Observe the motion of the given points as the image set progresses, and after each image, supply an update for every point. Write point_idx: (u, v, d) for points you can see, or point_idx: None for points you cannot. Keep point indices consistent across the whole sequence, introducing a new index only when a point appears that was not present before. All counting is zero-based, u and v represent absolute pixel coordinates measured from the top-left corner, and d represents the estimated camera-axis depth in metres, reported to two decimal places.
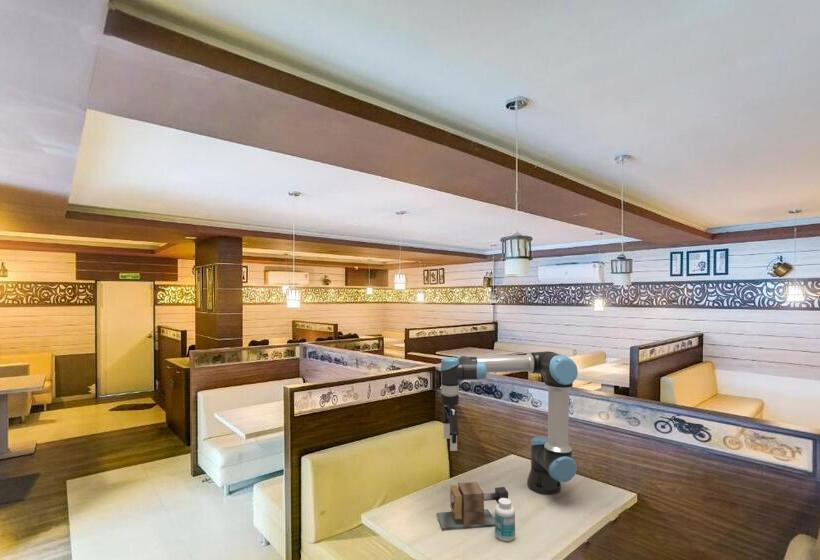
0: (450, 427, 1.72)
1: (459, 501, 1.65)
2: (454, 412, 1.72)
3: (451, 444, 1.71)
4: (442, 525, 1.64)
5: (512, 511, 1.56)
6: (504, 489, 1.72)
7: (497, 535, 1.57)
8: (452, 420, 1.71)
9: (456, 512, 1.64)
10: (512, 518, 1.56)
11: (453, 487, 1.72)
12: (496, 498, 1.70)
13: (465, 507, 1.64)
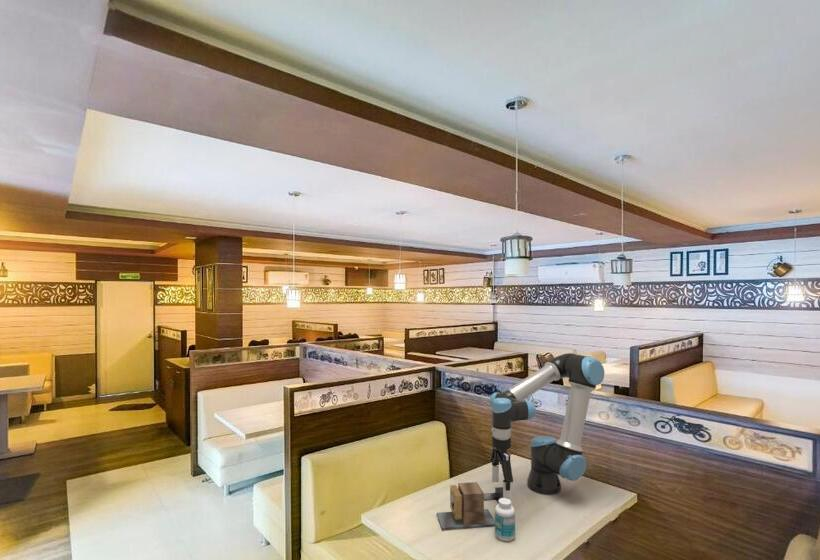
0: (503, 473, 1.65)
1: (459, 501, 1.65)
2: (508, 457, 1.65)
3: (504, 491, 1.64)
4: (442, 525, 1.64)
5: (512, 511, 1.56)
6: None
7: (497, 535, 1.57)
8: (506, 466, 1.64)
9: (456, 512, 1.64)
10: (512, 518, 1.56)
11: (453, 487, 1.72)
12: (496, 498, 1.70)
13: (465, 507, 1.64)
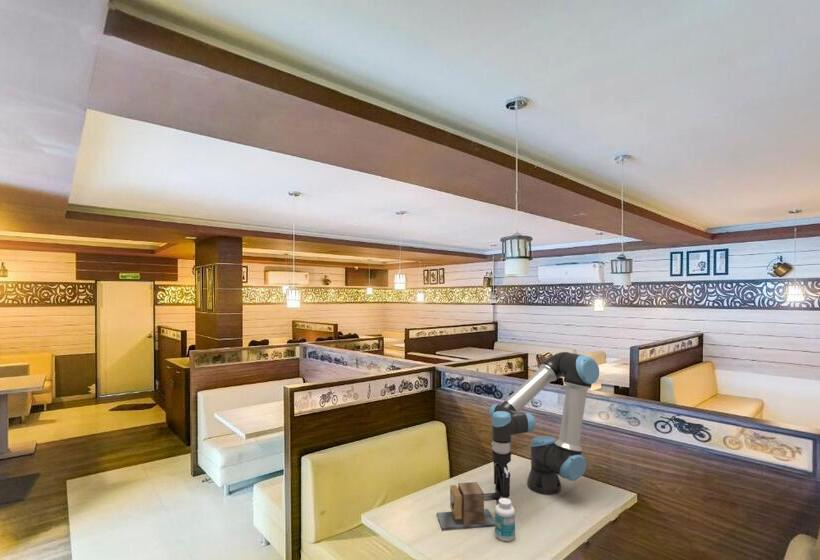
0: (501, 488, 1.68)
1: (459, 501, 1.65)
2: (508, 475, 1.65)
3: None
4: (442, 525, 1.64)
5: (512, 511, 1.56)
6: None
7: (497, 535, 1.57)
8: (505, 483, 1.65)
9: (456, 512, 1.64)
10: (512, 518, 1.56)
11: (453, 487, 1.72)
12: (496, 498, 1.70)
13: (465, 507, 1.64)
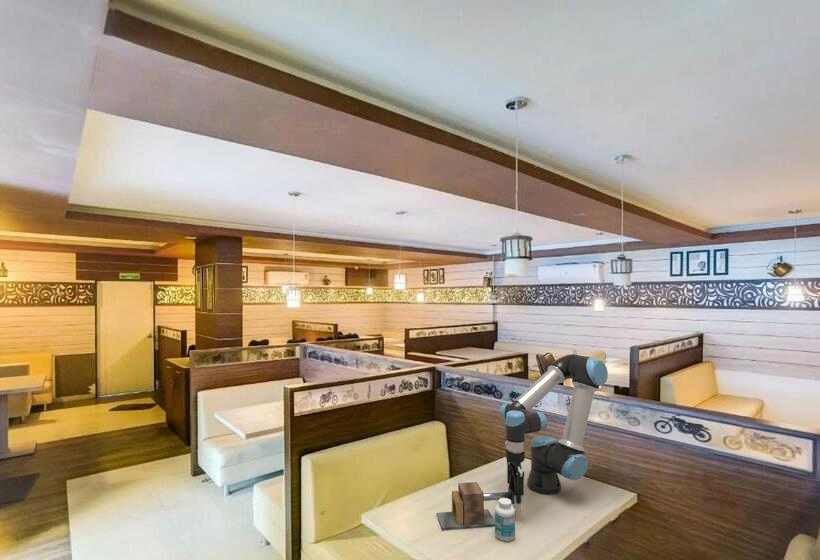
0: (515, 487, 1.69)
1: (461, 507, 1.65)
2: (522, 475, 1.66)
3: (515, 504, 1.69)
4: (442, 525, 1.64)
5: (512, 511, 1.56)
6: None
7: (497, 535, 1.57)
8: (519, 482, 1.66)
9: (458, 518, 1.64)
10: (512, 518, 1.56)
11: (455, 493, 1.72)
12: (509, 497, 1.70)
13: (465, 507, 1.64)
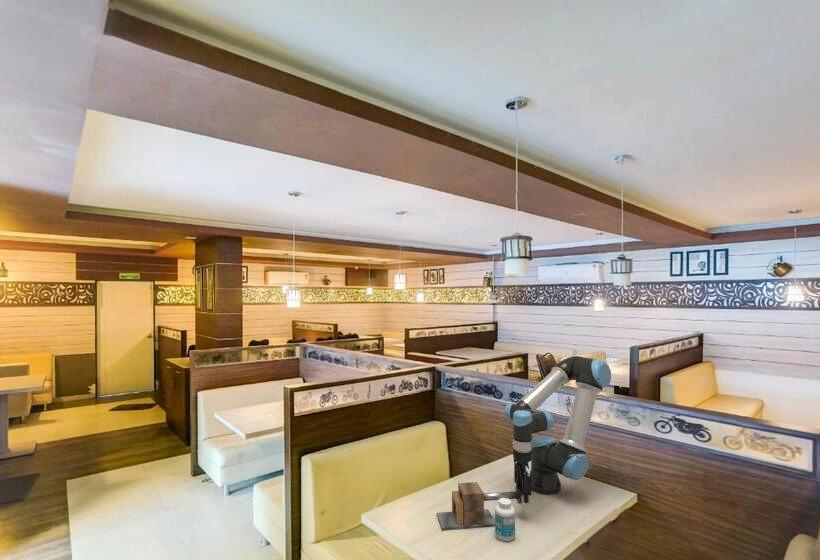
0: (522, 486, 1.69)
1: (461, 507, 1.65)
2: (529, 474, 1.66)
3: (523, 503, 1.70)
4: (442, 525, 1.64)
5: (512, 511, 1.56)
6: None
7: (497, 535, 1.57)
8: (526, 481, 1.67)
9: (458, 518, 1.64)
10: (512, 518, 1.56)
11: (455, 493, 1.72)
12: (517, 497, 1.71)
13: (465, 507, 1.64)
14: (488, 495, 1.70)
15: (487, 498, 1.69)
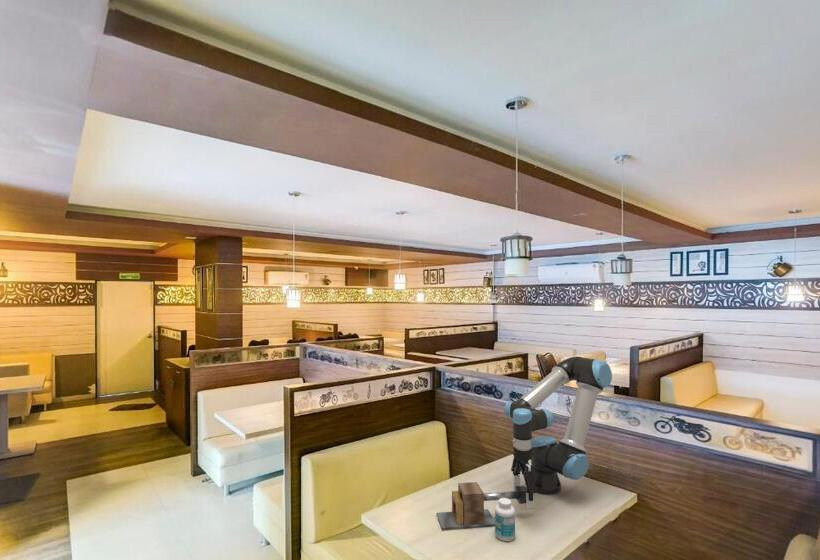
0: (526, 484, 1.66)
1: (461, 507, 1.65)
2: (530, 468, 1.66)
3: (528, 501, 1.66)
4: (442, 525, 1.64)
5: (512, 511, 1.56)
6: (525, 488, 1.73)
7: (497, 535, 1.57)
8: (529, 477, 1.65)
9: (458, 518, 1.64)
10: (512, 518, 1.56)
11: (455, 493, 1.72)
12: (517, 497, 1.71)
13: (465, 507, 1.64)
14: (488, 495, 1.70)
15: (487, 498, 1.69)
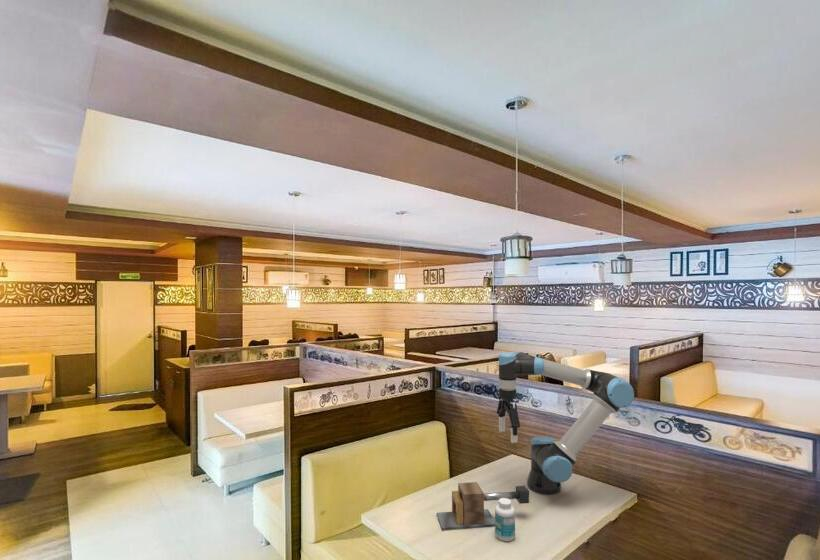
0: (511, 420, 1.78)
1: (461, 507, 1.65)
2: (514, 405, 1.78)
3: (512, 436, 1.77)
4: (442, 525, 1.64)
5: (512, 511, 1.56)
6: (525, 488, 1.73)
7: (497, 535, 1.57)
8: (513, 413, 1.77)
9: (458, 518, 1.64)
10: (512, 518, 1.56)
11: (455, 493, 1.72)
12: (517, 497, 1.71)
13: (465, 507, 1.64)
14: (488, 495, 1.70)
15: (487, 498, 1.69)
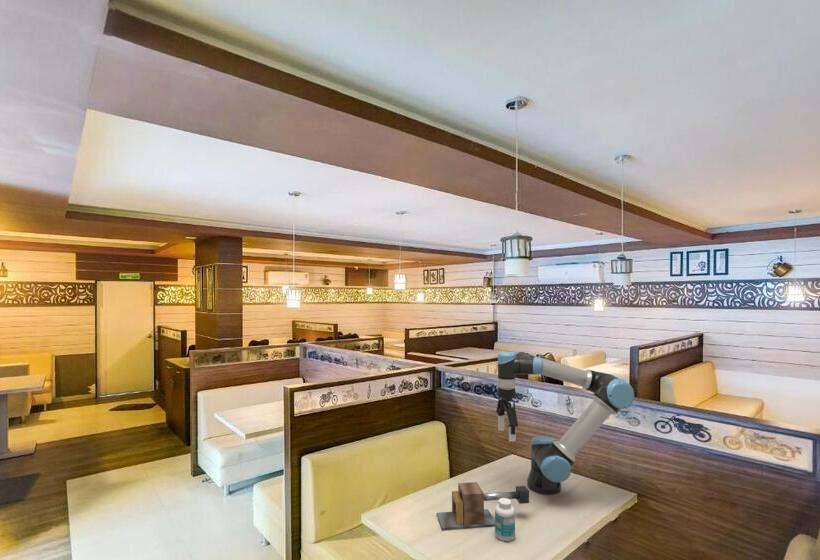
0: (509, 419, 1.79)
1: (461, 507, 1.65)
2: (513, 404, 1.79)
3: (510, 435, 1.78)
4: (442, 525, 1.64)
5: (512, 511, 1.56)
6: (525, 488, 1.73)
7: (497, 535, 1.57)
8: (511, 412, 1.78)
9: (458, 518, 1.64)
10: (512, 518, 1.56)
11: (455, 493, 1.72)
12: (517, 497, 1.71)
13: (465, 507, 1.64)
14: (488, 495, 1.70)
15: (487, 498, 1.69)
